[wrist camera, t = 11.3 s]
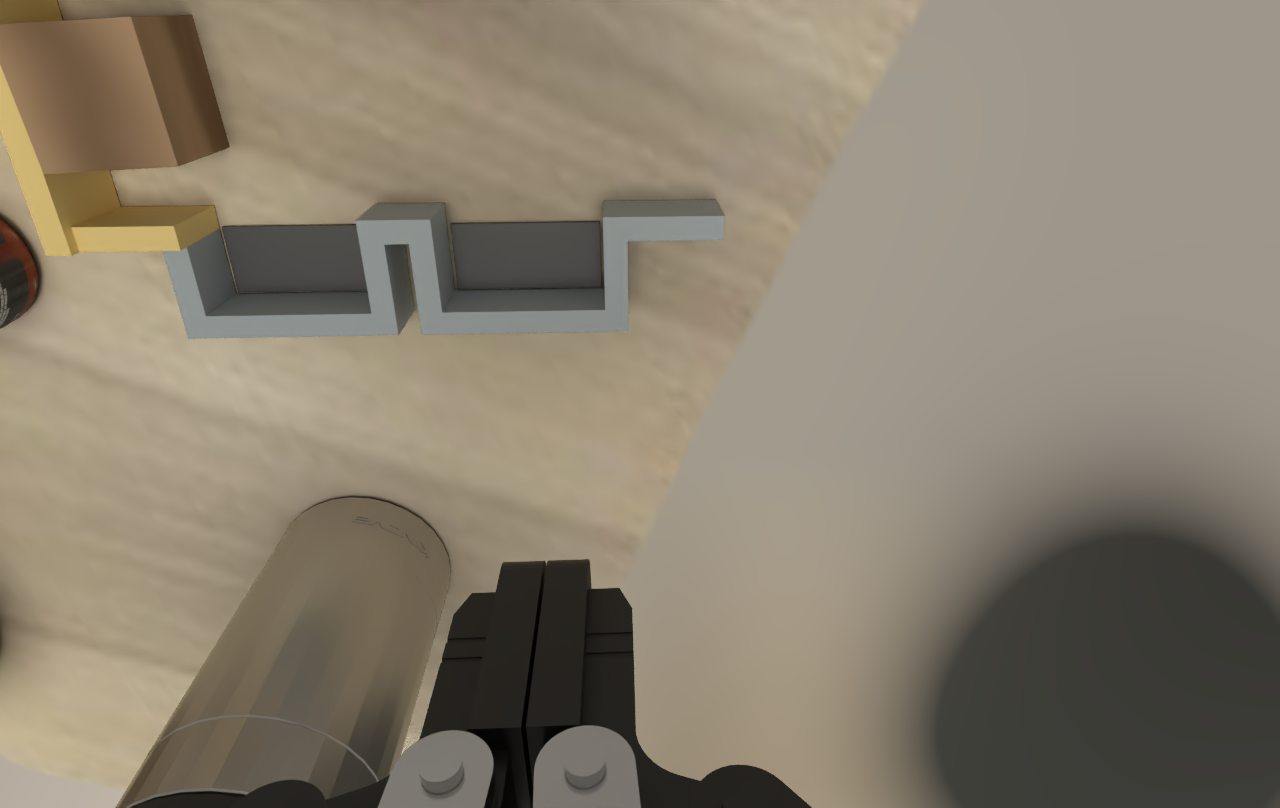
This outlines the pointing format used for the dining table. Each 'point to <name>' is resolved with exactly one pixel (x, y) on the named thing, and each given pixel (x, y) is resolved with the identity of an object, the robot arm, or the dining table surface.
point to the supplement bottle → (15, 276)
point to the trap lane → (424, 272)
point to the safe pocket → (86, 186)
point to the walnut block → (112, 92)
